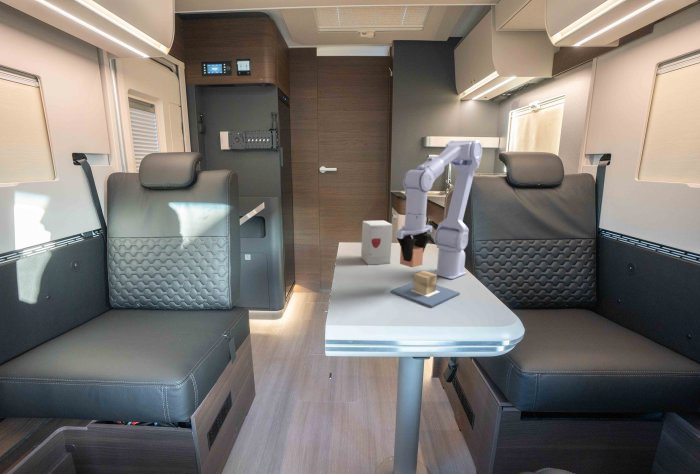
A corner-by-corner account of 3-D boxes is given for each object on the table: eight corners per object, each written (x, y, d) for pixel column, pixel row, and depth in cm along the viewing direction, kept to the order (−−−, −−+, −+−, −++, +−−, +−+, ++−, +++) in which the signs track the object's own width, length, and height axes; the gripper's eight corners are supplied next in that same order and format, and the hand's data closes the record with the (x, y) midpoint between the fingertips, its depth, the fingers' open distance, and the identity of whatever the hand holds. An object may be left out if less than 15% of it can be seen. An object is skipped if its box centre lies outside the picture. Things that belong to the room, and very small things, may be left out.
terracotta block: (409, 261, 102) (410, 245, 101) (422, 264, 99) (423, 248, 98) (399, 263, 99) (400, 247, 98) (412, 267, 96) (413, 250, 95)
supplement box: (367, 265, 122) (369, 224, 119) (360, 258, 131) (361, 220, 127) (391, 263, 125) (393, 224, 121) (382, 257, 133) (384, 219, 130)
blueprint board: (419, 281, 107) (419, 279, 107) (459, 294, 97) (459, 292, 97) (390, 292, 98) (391, 289, 98) (431, 307, 88) (431, 305, 88)
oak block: (422, 286, 101) (423, 270, 100) (435, 291, 98) (436, 274, 96) (413, 290, 98) (414, 273, 97) (426, 295, 95) (427, 278, 93)
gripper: (419, 209, 103) (416, 252, 106) (388, 213, 93) (385, 260, 97) (439, 212, 98) (435, 257, 101) (408, 217, 88) (405, 266, 91)
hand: (412, 259), depth 98 cm, fingers closed on terracotta block, 5 cm apart
